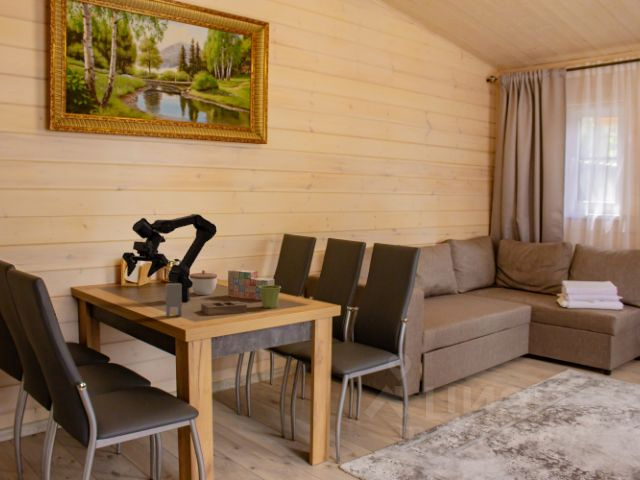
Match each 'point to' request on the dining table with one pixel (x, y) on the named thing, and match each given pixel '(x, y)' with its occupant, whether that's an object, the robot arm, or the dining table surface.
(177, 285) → the grey tall block
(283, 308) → the dining table surface
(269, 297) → the plant pot
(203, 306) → the brown holed block
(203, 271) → the lidded bowl
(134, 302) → the dining table surface
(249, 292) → the stack of blocks
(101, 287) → the dining table surface
